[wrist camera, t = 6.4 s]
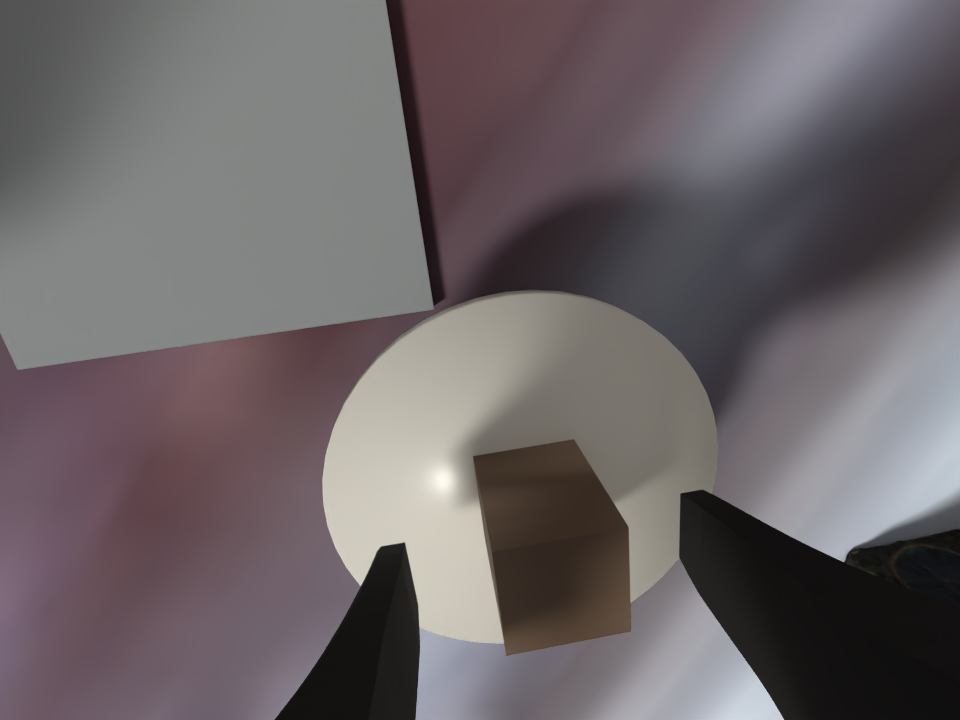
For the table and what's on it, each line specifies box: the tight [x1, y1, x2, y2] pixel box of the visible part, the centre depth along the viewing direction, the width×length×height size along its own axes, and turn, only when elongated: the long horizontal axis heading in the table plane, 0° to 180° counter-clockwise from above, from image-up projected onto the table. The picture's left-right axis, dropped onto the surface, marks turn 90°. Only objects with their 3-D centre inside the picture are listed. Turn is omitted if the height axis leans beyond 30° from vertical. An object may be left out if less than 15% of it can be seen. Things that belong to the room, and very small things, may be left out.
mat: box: [0, 0, 434, 370], centre depth 15 cm, size 14×14×1 cm
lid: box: [323, 290, 718, 656], centre depth 13 cm, size 12×12×5 cm
